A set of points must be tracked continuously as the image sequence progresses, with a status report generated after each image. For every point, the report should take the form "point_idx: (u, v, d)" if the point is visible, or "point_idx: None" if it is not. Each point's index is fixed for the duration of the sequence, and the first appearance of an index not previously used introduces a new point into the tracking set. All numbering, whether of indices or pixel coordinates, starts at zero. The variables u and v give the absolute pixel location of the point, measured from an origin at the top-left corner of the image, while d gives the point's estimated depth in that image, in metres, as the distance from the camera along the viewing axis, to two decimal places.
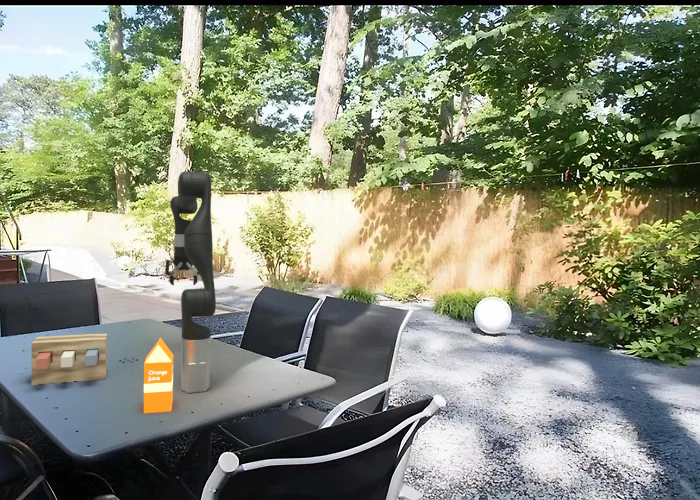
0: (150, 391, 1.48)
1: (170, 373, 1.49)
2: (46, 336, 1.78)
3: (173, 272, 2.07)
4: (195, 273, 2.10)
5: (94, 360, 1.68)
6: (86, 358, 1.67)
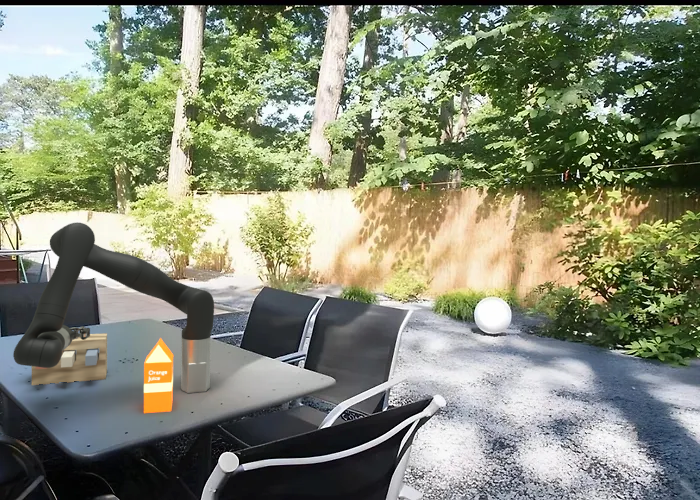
0: (150, 391, 1.48)
1: (170, 373, 1.49)
2: None
3: (79, 328, 1.57)
4: None
5: (94, 360, 1.68)
6: (86, 358, 1.67)
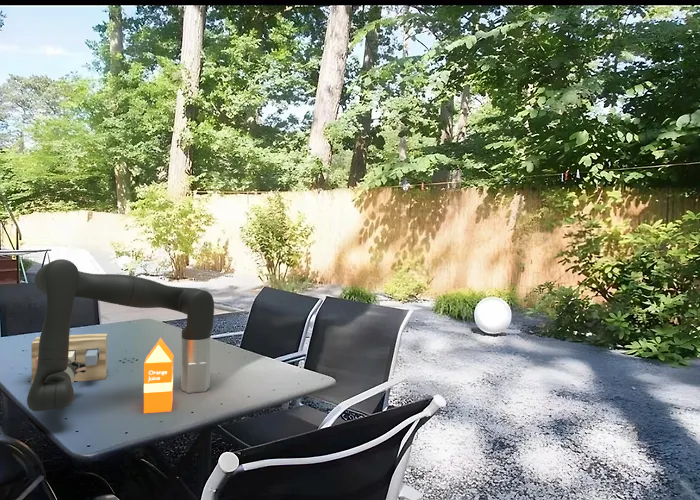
0: (150, 391, 1.48)
1: (170, 373, 1.49)
2: None
3: None
4: None
5: (94, 360, 1.68)
6: (86, 358, 1.67)
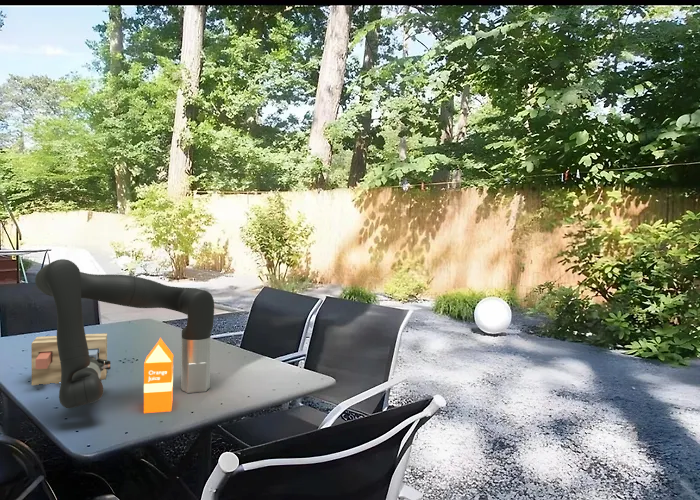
0: (150, 391, 1.48)
1: (170, 373, 1.49)
2: (46, 336, 1.78)
3: None
4: None
5: None
6: None
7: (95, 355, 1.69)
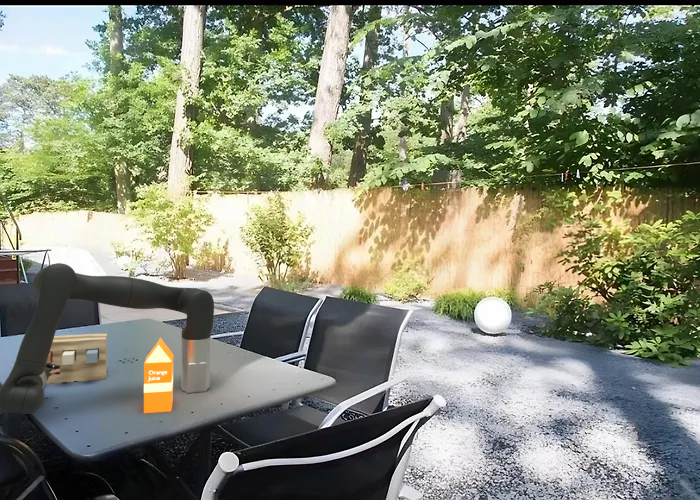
0: (150, 391, 1.48)
1: (170, 373, 1.49)
2: None
3: None
4: None
5: (95, 358, 1.71)
6: (87, 356, 1.70)
7: (95, 354, 1.71)
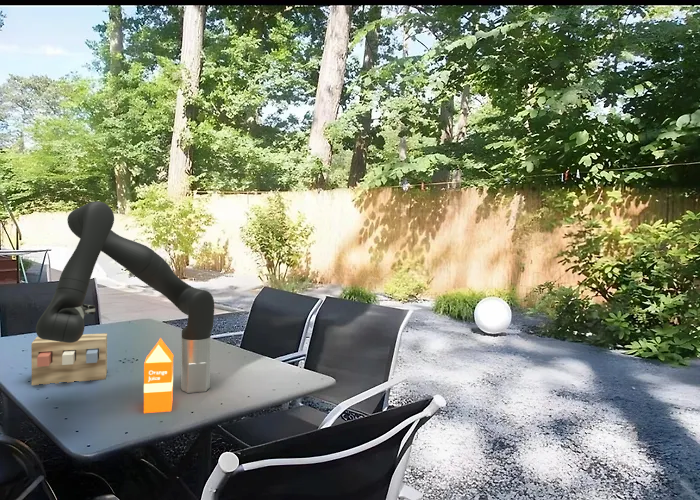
0: (150, 391, 1.48)
1: (170, 373, 1.49)
2: None
3: None
4: None
5: (95, 358, 1.71)
6: (87, 356, 1.70)
7: (95, 354, 1.71)
